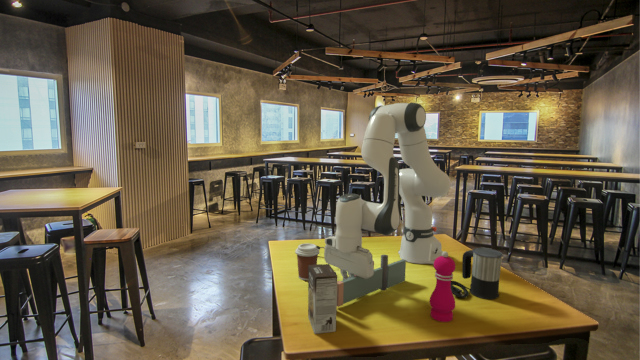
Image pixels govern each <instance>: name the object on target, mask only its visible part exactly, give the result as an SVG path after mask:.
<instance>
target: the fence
mask: <svg viewBox="0 0 640 360" xmlns="http://www.w3.org/2000/svg"><path fill="white" fill-rule="evenodd" d="M388 262H389V255H388V254H381V255H380V268H383V274H382V288H381V289H379V290H381V291H387V289H389V288H392V287H394V286H396V285H399V284H401V283H403V282H406V269H407V268H406V267H407V266H406V265H407V263H406V262H407V261H406V260H404V259H399V260H397V261H394V262H391V263H388ZM334 272H335V273H336V274H337V272H336V271H334Z"/></svg>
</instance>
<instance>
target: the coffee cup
mask: <svg viewBox="0 0 640 360" xmlns="http://www.w3.org/2000/svg"><path fill="white" fill-rule="evenodd" d="M317 246H318V245H317ZM317 246H316V244H314V243H301V244H299V245H297V248H296V249H295V251H294V252H295V254H296V258H297V260H296V261H297V270H298V271H297V272H298V278H299V280H302V281H308V265H316V264H318V255H320V249H318V248H317Z"/></svg>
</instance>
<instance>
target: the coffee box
mask: <svg viewBox="0 0 640 360" xmlns="http://www.w3.org/2000/svg"><path fill="white" fill-rule="evenodd" d="M335 272H336V271H335V270H334V268H332V265H330V264H328V263H326V264H322V263H321V264H320V263H319V264H318V263H317V264H316V265H308V280H307V281H308V283H307V285H308V287H307V288H308V290H307V291H308V295H307V297H308V298H307V299H308V300H307V303H308V306H307V307H308V309H307V310H308V311H307V313H308V315H307V318H308V320H309V322H310V323H309V324H310V326H311V328H312V330H313V333H314V335H315V334H323V333H324V334H325V333H333V332H336V331H337V307H338V306H337V281H338V275H337V272H336V273H335Z"/></svg>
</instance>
